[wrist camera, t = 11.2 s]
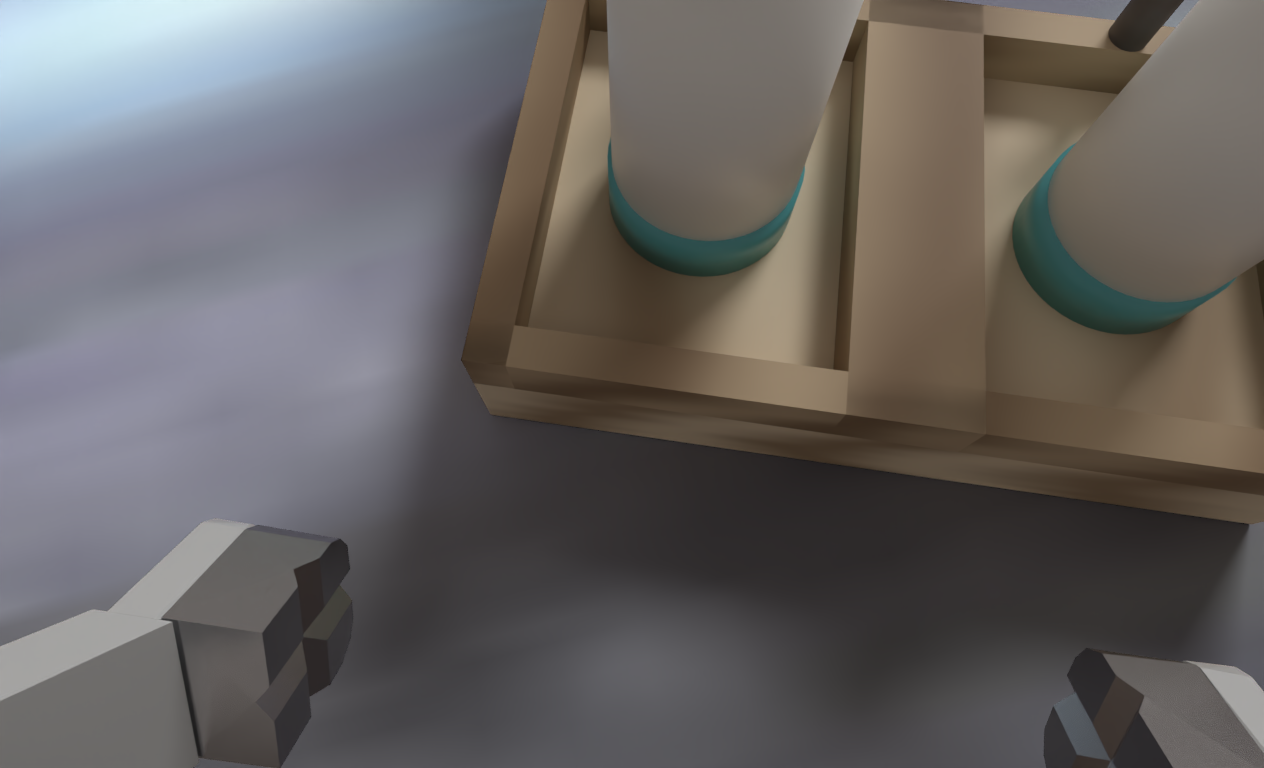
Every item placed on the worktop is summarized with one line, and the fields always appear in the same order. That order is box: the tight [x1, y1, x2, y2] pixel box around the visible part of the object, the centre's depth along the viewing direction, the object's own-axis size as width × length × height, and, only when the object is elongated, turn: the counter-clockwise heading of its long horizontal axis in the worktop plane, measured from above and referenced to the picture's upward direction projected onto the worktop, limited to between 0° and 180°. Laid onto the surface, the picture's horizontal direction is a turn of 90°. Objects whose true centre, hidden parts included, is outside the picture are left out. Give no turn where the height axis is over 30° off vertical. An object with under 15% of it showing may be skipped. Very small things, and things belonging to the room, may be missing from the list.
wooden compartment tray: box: [461, 0, 1264, 524], centre depth 19 cm, size 20×12×7 cm, turn 82°
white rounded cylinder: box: [607, 0, 864, 277], centre depth 16 cm, size 5×5×9 cm
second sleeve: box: [1012, 0, 1264, 335], centre depth 16 cm, size 5×5×9 cm
